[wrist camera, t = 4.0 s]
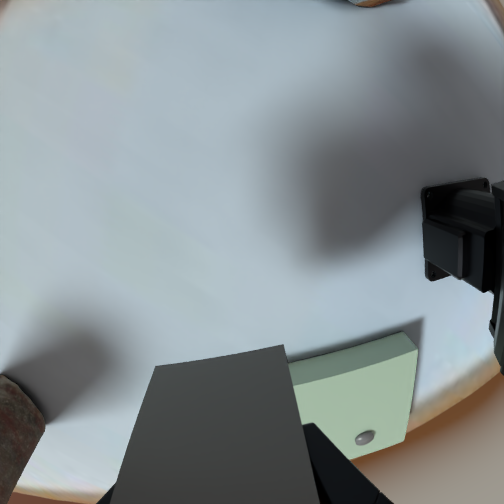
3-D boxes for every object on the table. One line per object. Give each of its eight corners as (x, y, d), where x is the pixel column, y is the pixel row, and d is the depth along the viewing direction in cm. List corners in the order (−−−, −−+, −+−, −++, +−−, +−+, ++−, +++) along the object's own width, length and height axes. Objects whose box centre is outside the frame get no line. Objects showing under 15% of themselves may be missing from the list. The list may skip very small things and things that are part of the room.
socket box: (402, 331, 20) (420, 351, 17) (394, 422, 23) (405, 443, 20) (164, 383, 21) (157, 408, 18) (208, 463, 24) (206, 485, 21)
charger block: (283, 344, 9) (337, 589, 2) (300, 427, 10) (336, 600, 3) (155, 366, 9) (90, 578, 2) (195, 443, 10) (180, 607, 3)
